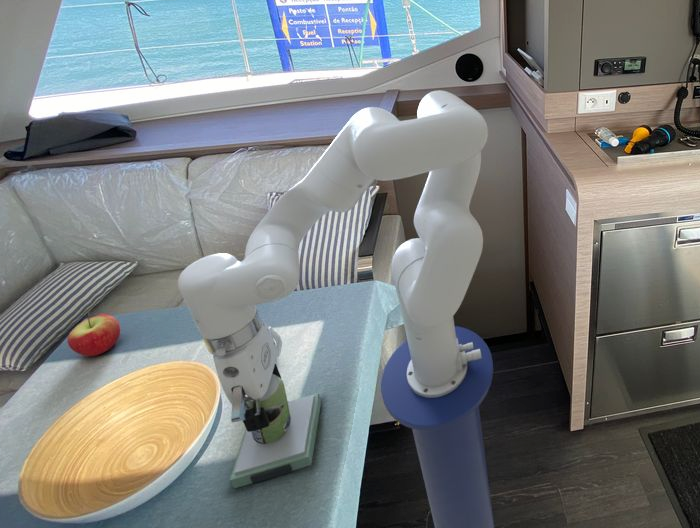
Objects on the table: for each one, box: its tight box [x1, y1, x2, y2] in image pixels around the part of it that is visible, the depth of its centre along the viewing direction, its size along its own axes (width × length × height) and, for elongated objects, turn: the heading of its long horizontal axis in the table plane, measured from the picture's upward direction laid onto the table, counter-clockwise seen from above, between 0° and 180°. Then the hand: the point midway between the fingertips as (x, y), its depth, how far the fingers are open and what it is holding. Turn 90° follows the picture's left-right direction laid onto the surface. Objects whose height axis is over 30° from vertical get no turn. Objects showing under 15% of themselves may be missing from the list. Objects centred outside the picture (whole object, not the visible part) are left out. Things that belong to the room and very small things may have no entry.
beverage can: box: [244, 374, 291, 444], centre depth 72 cm, size 6×7×12 cm
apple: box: [67, 310, 121, 357], centre depth 95 cm, size 8×8×10 cm
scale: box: [229, 393, 322, 489], centre depth 75 cm, size 12×12×3 cm
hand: (265, 403), depth 71 cm, fingers open, 7 cm apart
